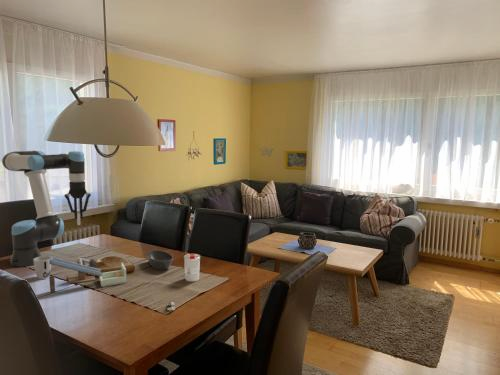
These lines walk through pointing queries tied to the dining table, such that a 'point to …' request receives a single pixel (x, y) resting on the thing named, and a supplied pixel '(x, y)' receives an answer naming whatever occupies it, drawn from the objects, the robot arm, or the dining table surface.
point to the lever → (77, 265)
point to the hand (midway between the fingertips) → (78, 224)
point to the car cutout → (171, 307)
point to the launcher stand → (72, 279)
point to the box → (113, 277)
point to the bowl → (159, 259)
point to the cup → (42, 266)
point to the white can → (192, 267)
